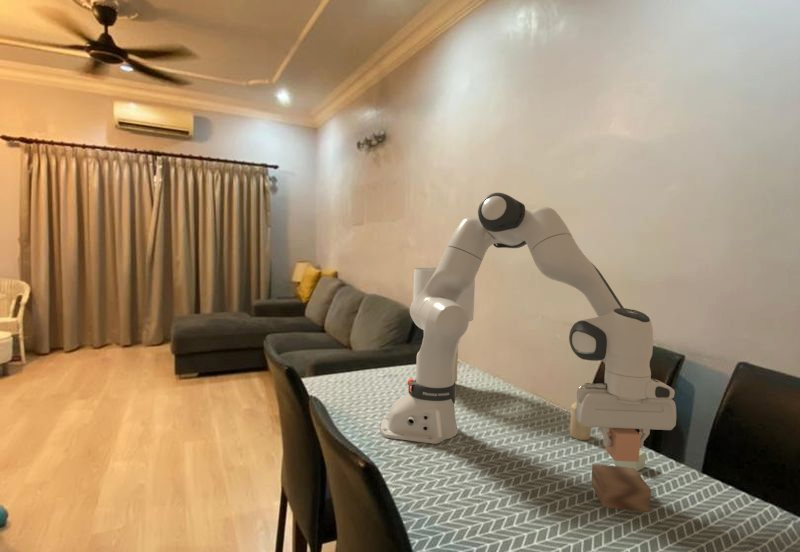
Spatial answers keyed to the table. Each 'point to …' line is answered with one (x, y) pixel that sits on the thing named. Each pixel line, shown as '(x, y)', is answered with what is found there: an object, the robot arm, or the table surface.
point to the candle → (578, 426)
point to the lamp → (464, 301)
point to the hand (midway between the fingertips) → (622, 446)
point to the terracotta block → (624, 444)
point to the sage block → (635, 465)
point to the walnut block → (620, 488)
